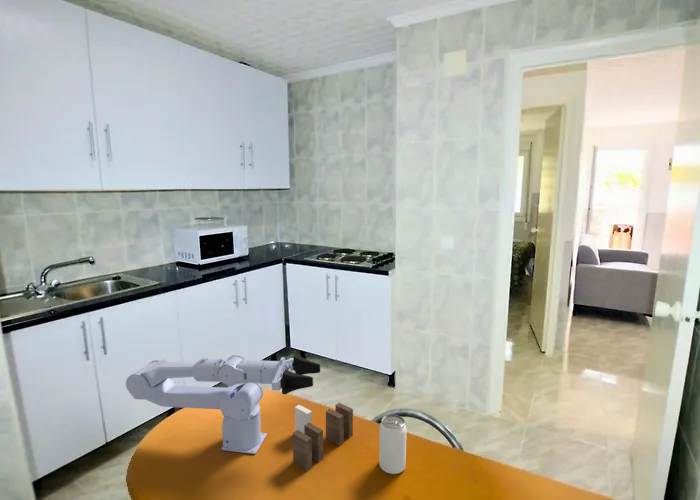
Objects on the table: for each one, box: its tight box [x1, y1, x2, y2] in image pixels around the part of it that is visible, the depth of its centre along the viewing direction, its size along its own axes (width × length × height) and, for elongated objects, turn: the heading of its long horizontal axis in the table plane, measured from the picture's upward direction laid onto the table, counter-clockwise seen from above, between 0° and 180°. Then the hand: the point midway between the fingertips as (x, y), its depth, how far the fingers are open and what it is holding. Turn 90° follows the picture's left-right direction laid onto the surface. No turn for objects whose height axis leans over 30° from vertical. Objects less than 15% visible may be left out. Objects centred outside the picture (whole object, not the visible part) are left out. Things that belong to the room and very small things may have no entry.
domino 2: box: [292, 430, 313, 472], centre depth 90 cm, size 2×5×8 cm, turn 51°
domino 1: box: [294, 404, 313, 434], centre depth 101 cm, size 2×5×8 cm, turn 51°
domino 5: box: [334, 402, 354, 439], centre depth 102 cm, size 2×5×8 cm, turn 51°
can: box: [378, 413, 407, 475], centre depth 90 cm, size 6×6×12 cm
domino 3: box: [304, 423, 324, 463], centre depth 93 cm, size 2×5×8 cm, turn 51°
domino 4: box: [325, 408, 345, 447], centre depth 99 cm, size 2×5×8 cm, turn 51°
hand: (316, 374), depth 93 cm, fingers open, 7 cm apart
